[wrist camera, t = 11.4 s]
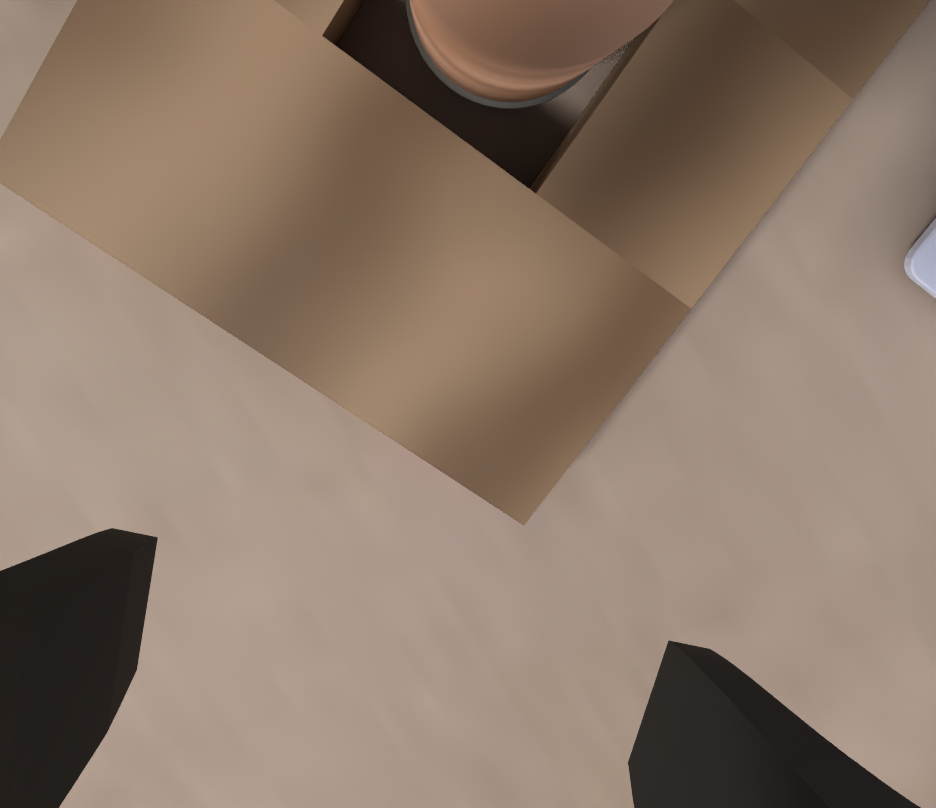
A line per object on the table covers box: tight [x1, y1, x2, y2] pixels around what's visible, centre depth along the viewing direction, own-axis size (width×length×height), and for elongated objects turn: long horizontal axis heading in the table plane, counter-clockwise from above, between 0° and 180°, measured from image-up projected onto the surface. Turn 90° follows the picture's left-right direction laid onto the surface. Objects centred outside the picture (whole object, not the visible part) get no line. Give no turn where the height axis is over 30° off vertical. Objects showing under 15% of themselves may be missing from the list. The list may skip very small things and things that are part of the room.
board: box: [0, 0, 929, 525], centre depth 18 cm, size 14×18×2 cm
